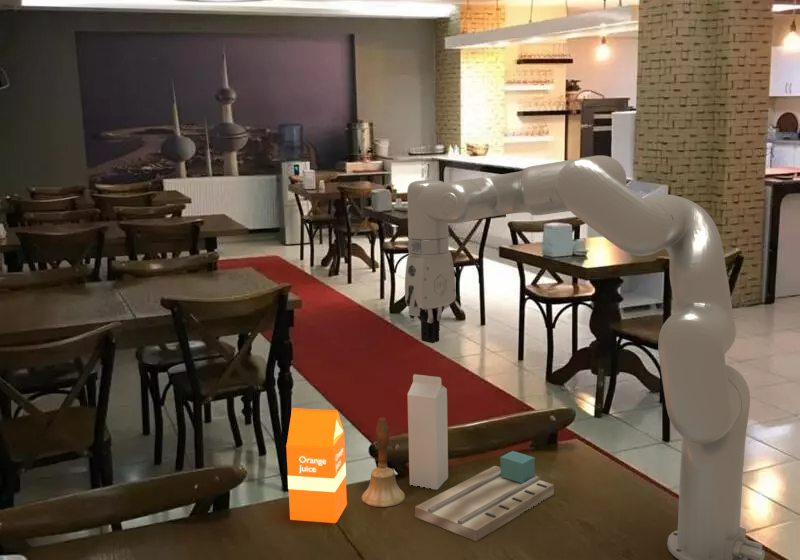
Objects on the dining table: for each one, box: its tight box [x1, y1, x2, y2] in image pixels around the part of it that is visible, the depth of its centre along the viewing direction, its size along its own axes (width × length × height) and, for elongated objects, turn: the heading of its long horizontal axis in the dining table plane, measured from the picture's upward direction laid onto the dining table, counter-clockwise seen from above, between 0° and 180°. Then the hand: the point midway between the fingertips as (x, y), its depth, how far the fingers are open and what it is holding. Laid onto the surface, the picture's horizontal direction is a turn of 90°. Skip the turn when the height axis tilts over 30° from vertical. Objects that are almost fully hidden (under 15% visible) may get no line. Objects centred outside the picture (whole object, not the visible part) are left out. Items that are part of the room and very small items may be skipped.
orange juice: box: [285, 407, 348, 524], centre depth 156 cm, size 8×9×20 cm
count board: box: [414, 465, 555, 542], centre depth 158 cm, size 14×24×3 cm, turn 137°
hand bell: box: [361, 417, 406, 508], centre depth 162 cm, size 8×8×16 cm
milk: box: [407, 373, 449, 491], centre depth 167 cm, size 6×6×22 cm
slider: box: [499, 450, 536, 484], centre depth 165 cm, size 5×4×4 cm
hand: (430, 341), depth 163 cm, fingers closed
